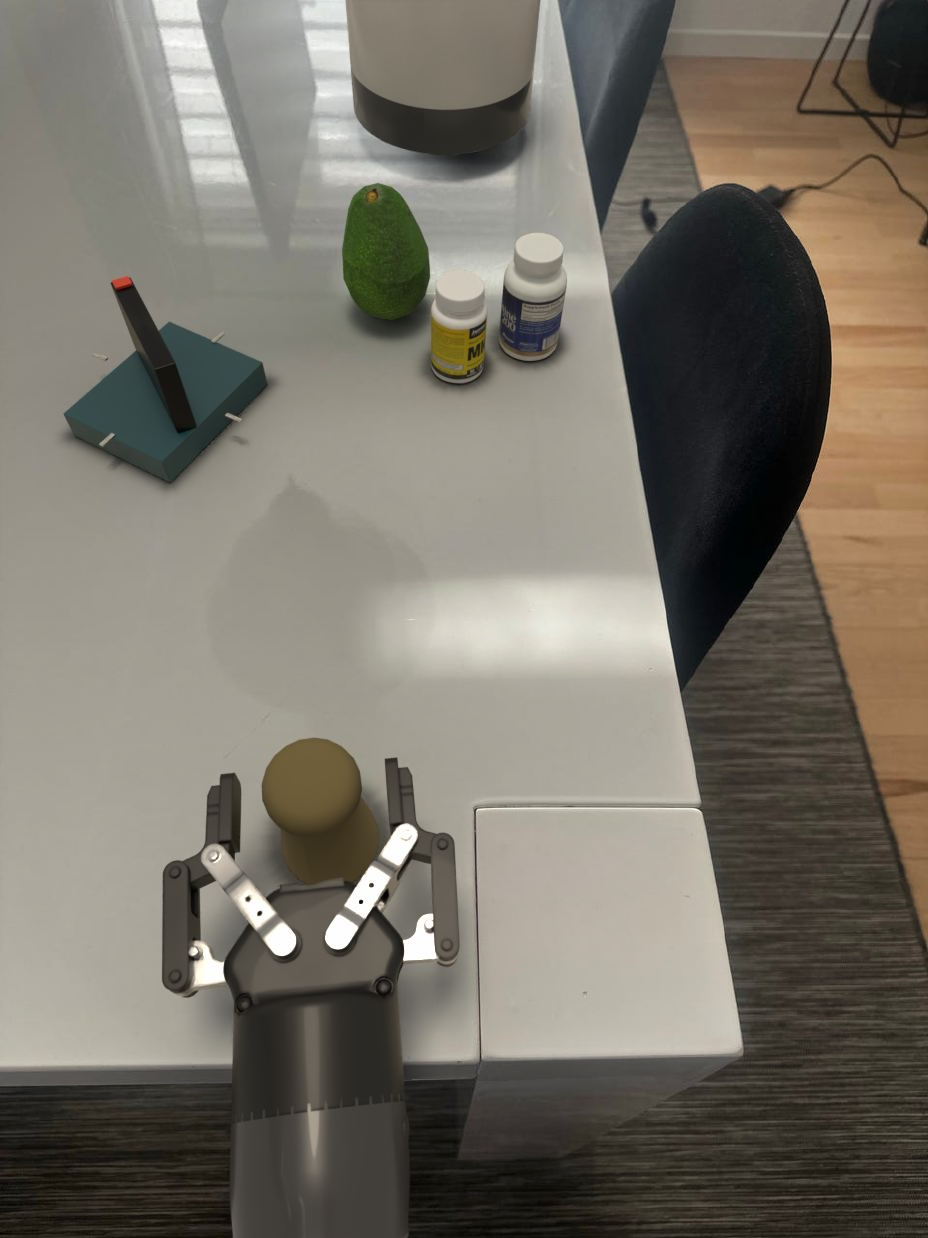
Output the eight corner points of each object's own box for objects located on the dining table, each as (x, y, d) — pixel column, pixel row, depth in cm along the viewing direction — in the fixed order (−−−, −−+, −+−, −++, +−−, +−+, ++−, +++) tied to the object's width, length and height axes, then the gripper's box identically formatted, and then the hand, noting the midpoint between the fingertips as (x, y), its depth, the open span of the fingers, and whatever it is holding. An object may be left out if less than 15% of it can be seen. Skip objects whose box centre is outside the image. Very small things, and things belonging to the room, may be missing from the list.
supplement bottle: (473, 391, 73) (477, 310, 65) (422, 376, 73) (421, 295, 66) (491, 356, 75) (497, 274, 68) (442, 342, 76) (443, 260, 69)
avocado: (340, 291, 79) (326, 166, 69) (420, 280, 80) (418, 156, 70) (355, 347, 75) (343, 223, 65) (440, 334, 76) (440, 211, 66)
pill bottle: (494, 324, 77) (502, 227, 69) (551, 322, 78) (565, 225, 69) (502, 364, 74) (511, 268, 66) (561, 361, 75) (577, 266, 67)
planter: (537, 100, 98) (556, -87, 83) (514, 193, 88) (530, 0, 73) (377, 80, 99) (367, -107, 84) (336, 170, 89) (317, -25, 74)
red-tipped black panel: (197, 427, 66) (174, 360, 60) (177, 433, 65) (153, 367, 60) (153, 342, 71) (129, 273, 65) (135, 348, 70) (108, 279, 65)
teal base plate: (187, 505, 65) (178, 483, 63) (40, 432, 69) (27, 408, 66) (300, 387, 72) (295, 363, 70) (161, 326, 76) (153, 302, 73)
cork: (325, 774, 54) (302, 700, 44) (398, 828, 52) (391, 763, 43) (260, 850, 51) (222, 787, 42) (336, 909, 49) (314, 858, 40)
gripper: (486, 1096, 34) (444, 728, 42) (124, 1146, 32) (155, 756, 41) (478, 1101, 40) (442, 781, 48) (175, 1142, 39) (193, 806, 47)
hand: (311, 770), depth 45 cm, fingers open, 8 cm apart
